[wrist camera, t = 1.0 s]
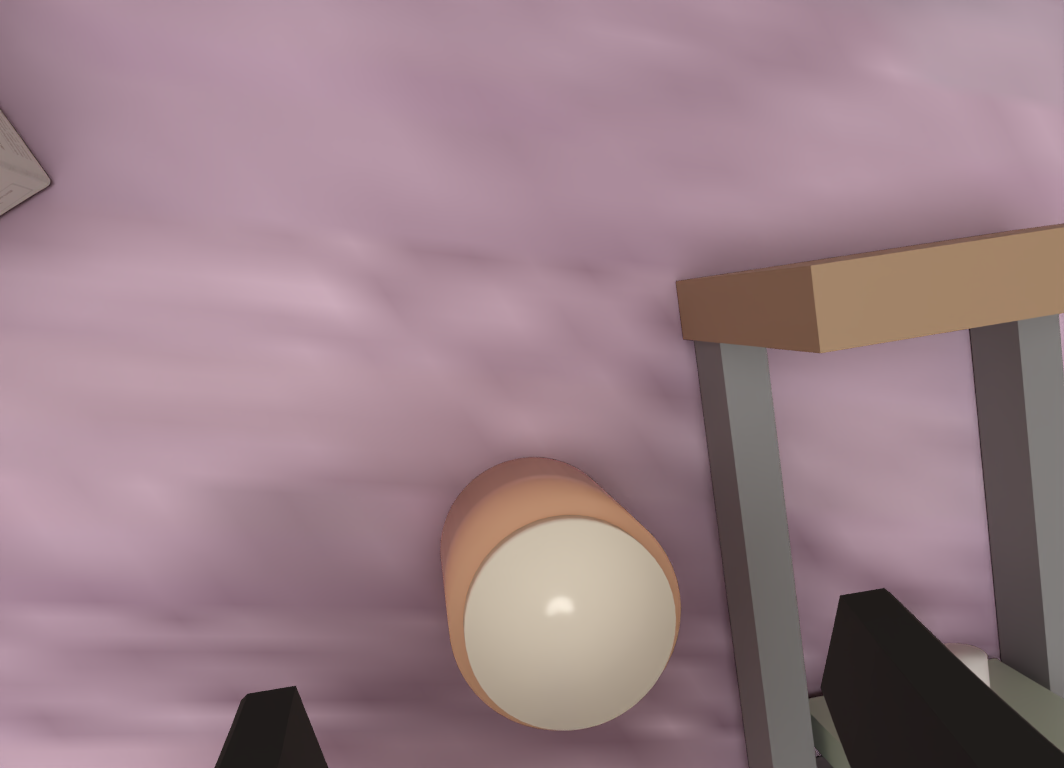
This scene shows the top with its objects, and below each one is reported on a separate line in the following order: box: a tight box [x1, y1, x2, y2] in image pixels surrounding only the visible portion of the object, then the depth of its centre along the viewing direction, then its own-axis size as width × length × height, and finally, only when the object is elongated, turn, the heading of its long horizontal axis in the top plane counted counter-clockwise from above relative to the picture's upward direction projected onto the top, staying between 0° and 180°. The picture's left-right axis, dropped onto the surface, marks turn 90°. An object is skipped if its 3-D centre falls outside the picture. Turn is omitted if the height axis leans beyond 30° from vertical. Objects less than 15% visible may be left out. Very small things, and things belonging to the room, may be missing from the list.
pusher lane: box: [676, 224, 1064, 768], centre depth 21 cm, size 16×10×8 cm, turn 8°
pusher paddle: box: [809, 643, 1064, 768], centre depth 22 cm, size 3×6×6 cm, turn 98°
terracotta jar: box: [440, 457, 681, 730], centre depth 20 cm, size 5×5×6 cm
